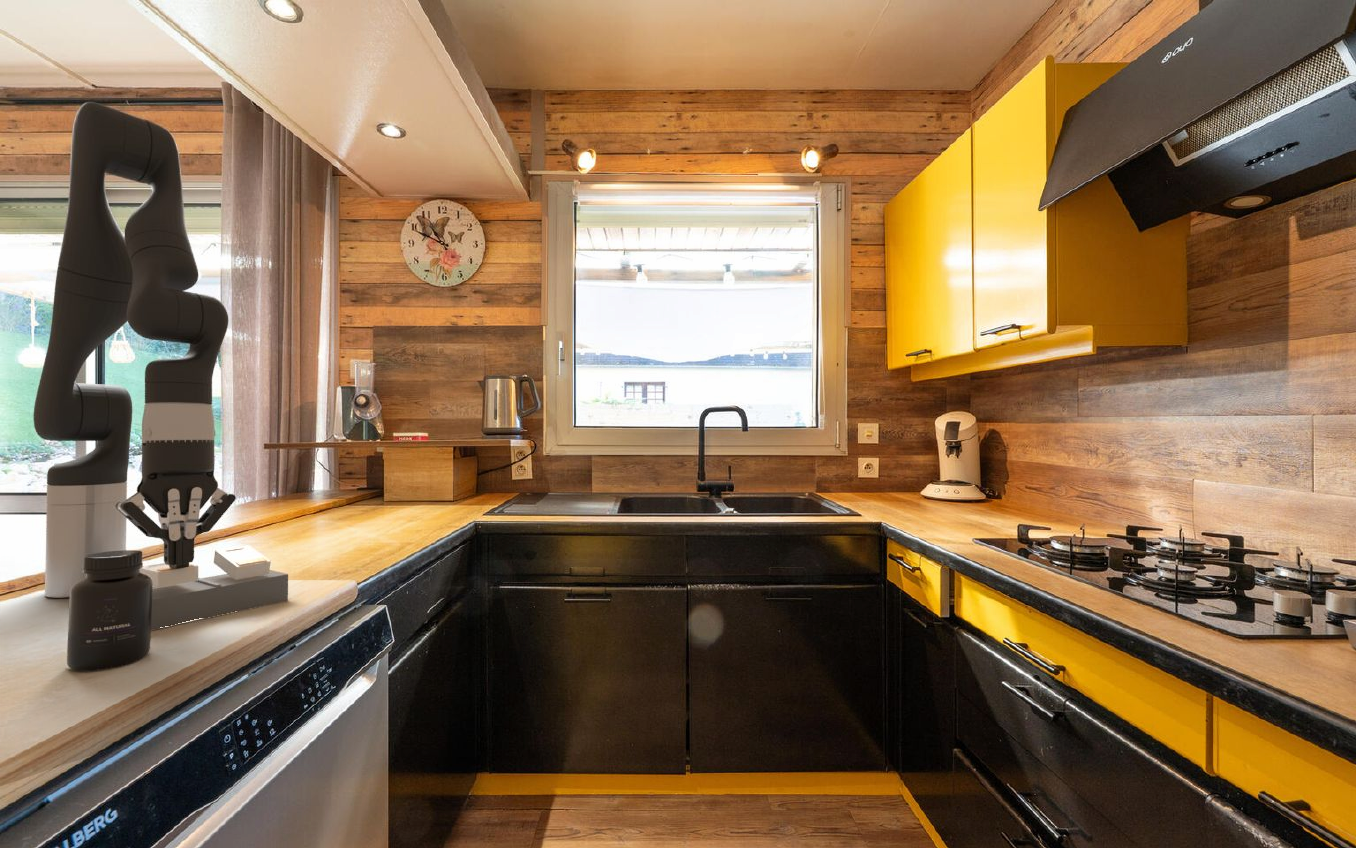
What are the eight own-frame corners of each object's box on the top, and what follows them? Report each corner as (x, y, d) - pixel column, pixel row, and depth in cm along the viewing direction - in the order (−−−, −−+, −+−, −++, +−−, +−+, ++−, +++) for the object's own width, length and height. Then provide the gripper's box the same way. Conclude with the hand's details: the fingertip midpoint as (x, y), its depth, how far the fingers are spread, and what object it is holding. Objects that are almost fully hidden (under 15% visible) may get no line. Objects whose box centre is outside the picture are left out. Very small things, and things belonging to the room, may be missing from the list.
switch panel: (112, 623, 81) (112, 591, 81) (261, 593, 96) (261, 566, 96) (136, 634, 76) (136, 600, 76) (287, 600, 92) (288, 572, 92)
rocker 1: (136, 582, 82) (136, 566, 82) (176, 575, 86) (176, 560, 86) (158, 587, 79) (158, 571, 79) (198, 580, 82) (198, 564, 83)
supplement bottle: (99, 675, 63) (101, 561, 64) (49, 670, 65) (51, 558, 65) (166, 652, 70) (168, 549, 70) (120, 648, 72) (122, 546, 72)
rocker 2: (213, 562, 90) (215, 549, 90) (246, 557, 94) (248, 544, 94) (235, 580, 87) (237, 565, 86) (268, 574, 90) (270, 560, 90)
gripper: (223, 438, 89) (223, 557, 88) (103, 439, 77) (102, 575, 77) (248, 437, 85) (248, 561, 84) (126, 437, 74) (125, 581, 73)
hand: (178, 567), depth 81 cm, fingers closed
